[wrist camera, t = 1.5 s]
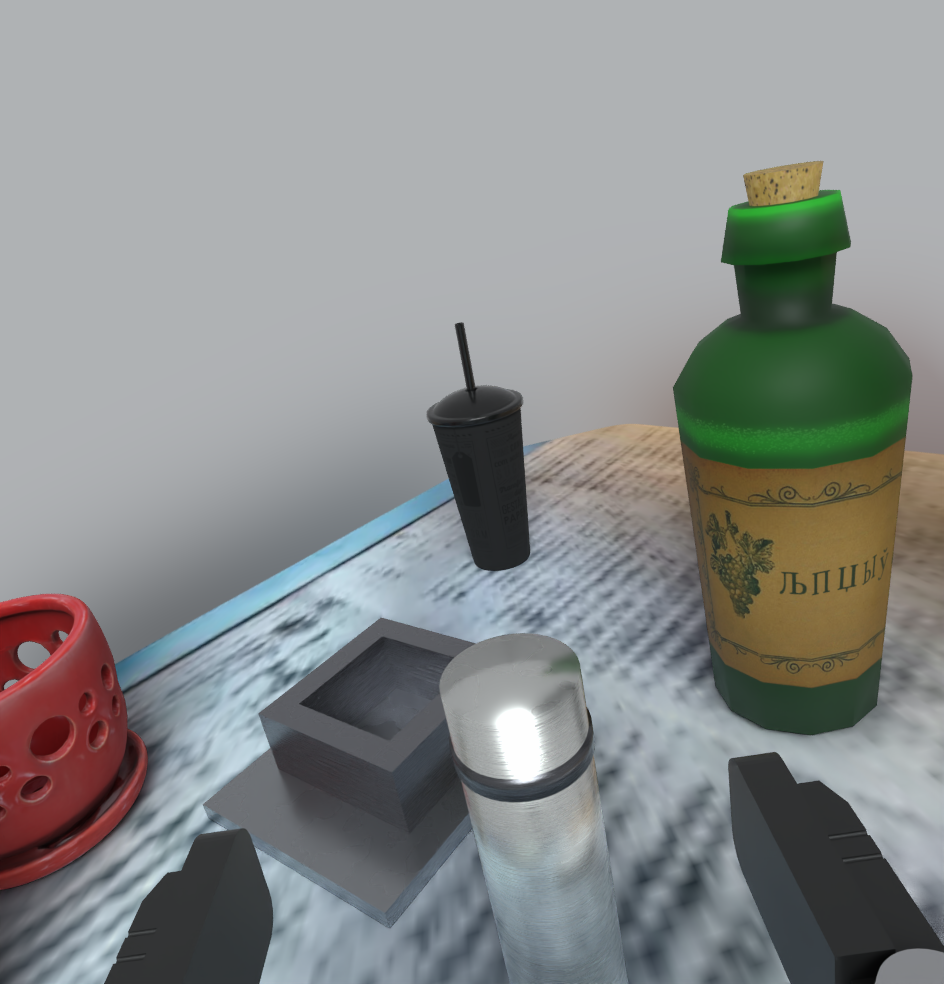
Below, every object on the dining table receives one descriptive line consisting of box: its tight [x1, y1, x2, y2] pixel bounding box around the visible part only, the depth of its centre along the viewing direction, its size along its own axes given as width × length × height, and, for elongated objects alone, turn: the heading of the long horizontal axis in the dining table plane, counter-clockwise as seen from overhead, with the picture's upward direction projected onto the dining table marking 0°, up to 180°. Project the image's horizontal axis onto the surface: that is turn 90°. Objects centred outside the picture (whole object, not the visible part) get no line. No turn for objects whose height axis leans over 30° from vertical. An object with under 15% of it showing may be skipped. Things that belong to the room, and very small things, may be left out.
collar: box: [203, 618, 475, 928], centre depth 44 cm, size 18×14×5 cm
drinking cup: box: [427, 323, 530, 571], centre depth 62 cm, size 8×8×20 cm
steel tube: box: [439, 633, 628, 984], centre depth 27 cm, size 5×5×16 cm
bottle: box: [673, 161, 912, 735], centre depth 39 cm, size 11×11×28 cm
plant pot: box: [0, 594, 148, 890], centre depth 43 cm, size 13×13×12 cm
